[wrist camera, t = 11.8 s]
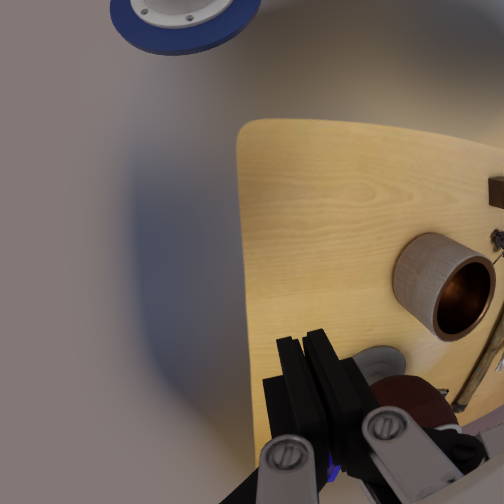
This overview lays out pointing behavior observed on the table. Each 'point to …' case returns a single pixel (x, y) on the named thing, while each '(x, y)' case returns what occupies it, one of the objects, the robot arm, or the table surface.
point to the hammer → (480, 370)
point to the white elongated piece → (500, 363)
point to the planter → (444, 285)
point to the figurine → (499, 241)
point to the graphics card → (444, 392)
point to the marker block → (496, 192)
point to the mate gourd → (405, 389)
